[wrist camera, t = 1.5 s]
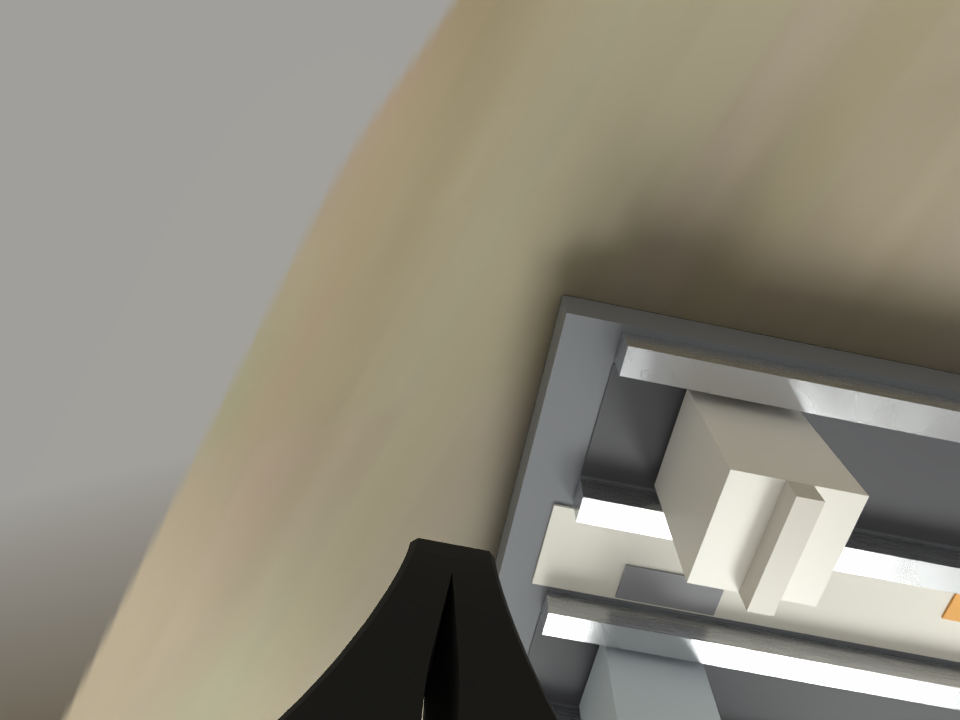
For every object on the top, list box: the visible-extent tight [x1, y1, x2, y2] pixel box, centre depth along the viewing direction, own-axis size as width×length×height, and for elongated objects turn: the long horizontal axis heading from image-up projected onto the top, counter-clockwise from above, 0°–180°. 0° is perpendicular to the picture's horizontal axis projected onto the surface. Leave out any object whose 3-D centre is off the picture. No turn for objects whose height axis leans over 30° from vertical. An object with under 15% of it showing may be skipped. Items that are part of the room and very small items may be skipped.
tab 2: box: [654, 389, 869, 616], centre depth 17 cm, size 3×3×5 cm
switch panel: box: [495, 295, 960, 720], centre depth 22 cm, size 14×22×2 cm, turn 79°
